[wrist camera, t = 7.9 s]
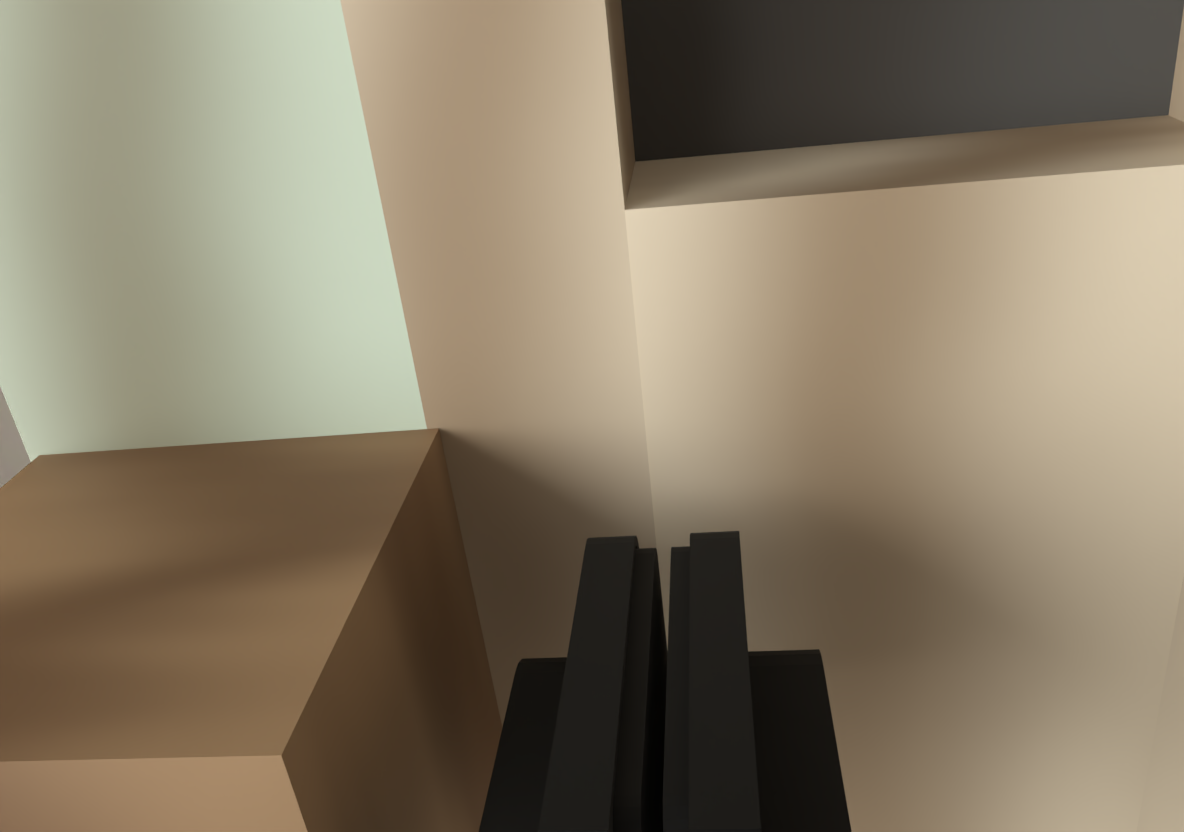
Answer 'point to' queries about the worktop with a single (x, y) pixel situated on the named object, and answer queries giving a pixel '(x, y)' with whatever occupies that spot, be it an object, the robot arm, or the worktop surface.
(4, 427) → the worktop surface
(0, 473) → the worktop surface
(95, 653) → the walnut block
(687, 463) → the trap deck
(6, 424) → the worktop surface
